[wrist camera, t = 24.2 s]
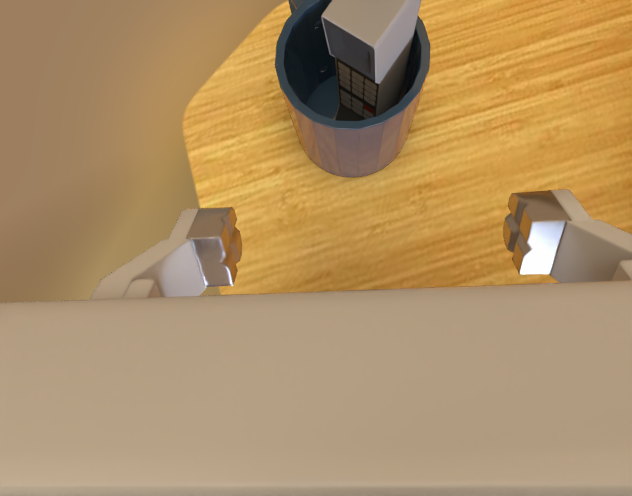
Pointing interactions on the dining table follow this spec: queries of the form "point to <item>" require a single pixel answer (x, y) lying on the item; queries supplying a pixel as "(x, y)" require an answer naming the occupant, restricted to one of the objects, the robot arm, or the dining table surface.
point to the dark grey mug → (322, 98)
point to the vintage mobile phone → (369, 53)
